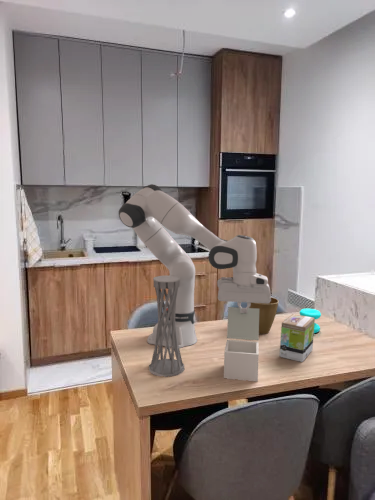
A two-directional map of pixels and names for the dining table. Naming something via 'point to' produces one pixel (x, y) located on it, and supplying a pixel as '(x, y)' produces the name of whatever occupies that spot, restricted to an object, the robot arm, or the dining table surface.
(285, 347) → the tea box
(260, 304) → the plant pot
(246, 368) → the carton
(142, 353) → the dining table surface
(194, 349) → the dining table surface
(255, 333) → the lid flap
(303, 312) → the cyan rounded piece
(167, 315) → the grey lattice tower
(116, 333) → the dining table surface
